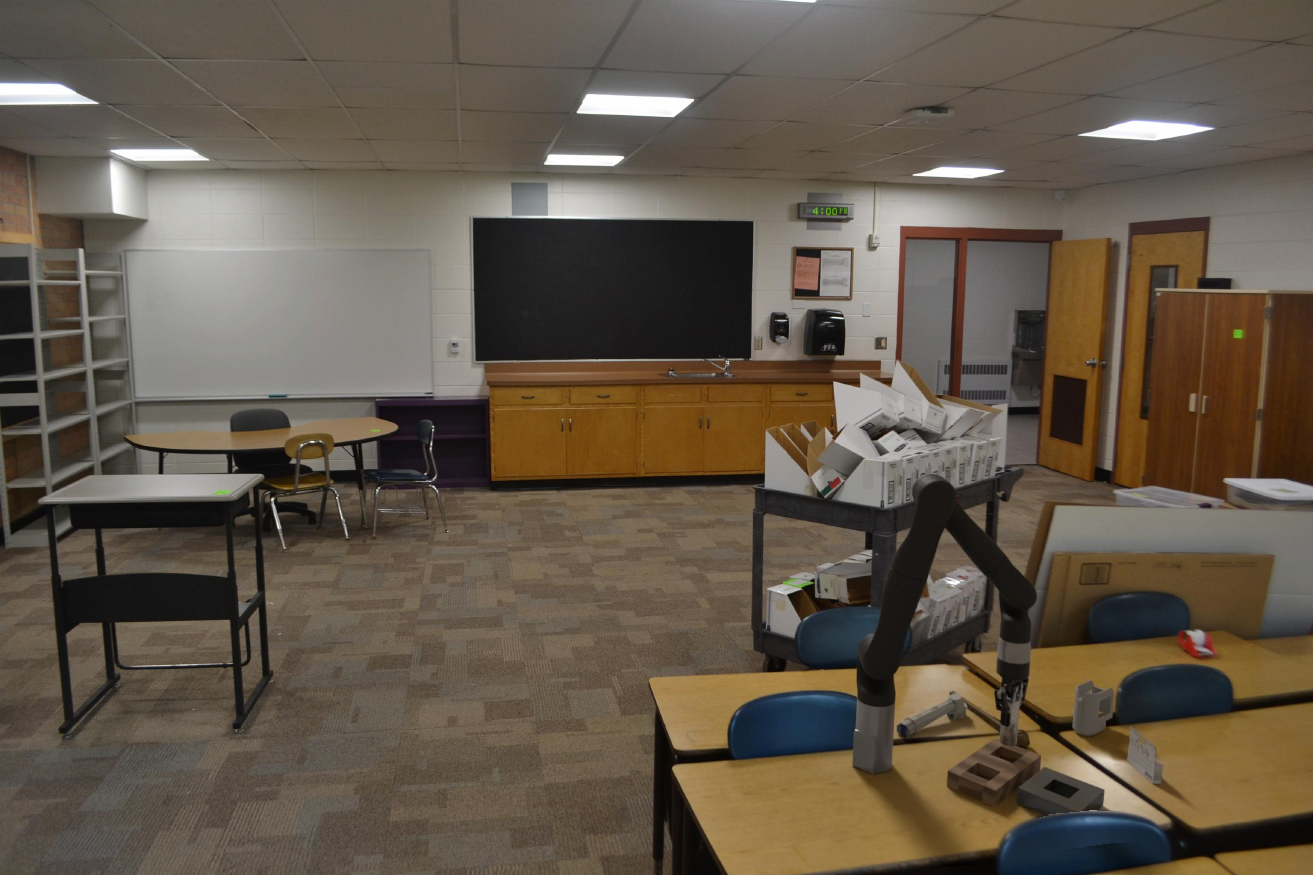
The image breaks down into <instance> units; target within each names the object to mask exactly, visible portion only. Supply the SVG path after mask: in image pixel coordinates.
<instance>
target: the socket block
mask: <svg viewBox="0 0 1313 875" xmlns="http://www.w3.org/2000/svg"><path fill="white" fill-rule="evenodd" d="M1016 797H1017V799H1016V804H1017V805H1019V806H1021V807H1023V808H1026V809H1028V810H1031V811H1033V812H1036V813H1038V814H1041V815H1043V816H1045V815H1049V814H1056V813H1069V812H1080V811H1089V810H1098V811H1099V810H1100V809H1102V807H1104V803H1105V802H1104V801H1105V789H1104V788H1102V787H1098V786H1097V785H1094V784H1091V783H1088V782H1086V781H1083V780H1080V779H1077V778H1075V777H1073V776H1070V775H1067V774H1064V773H1062V772H1060V771H1057V770H1055V769H1051V768H1048V767H1046V766H1044V767H1042V768H1040V771H1039V772H1037V773H1036V774H1035V775H1034V776H1032V777H1031V778H1030V779H1029V780H1027V781H1026V782H1025V783H1024V784H1022V785H1021V786H1020V787H1018V788H1017V796H1016Z"/></svg>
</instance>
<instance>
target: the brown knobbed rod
mask: <svg viewBox="0 0 1313 875" xmlns="http://www.w3.org/2000/svg"><path fill="white" fill-rule="evenodd" d="M955 693H956V694H958V692H955V690H950V691H949V696H950V695H952V694H955ZM963 700H964V703H966V705H967V708H968V709H970V710H972V711H973V712H975V713H976V714H978V715H979V716H981V717H982V718H984V719H985V720H987V721H988V722H990V723H991V724H993V725H994V726H995V727H997V728H998V729H1000V726H1001V724H1000V719H999V718H997V717H995V716H992V715H991V714H989V713H987V712H986V711H984V710H983V709H981V708H980V707H978V706H977V705H975V704H974V703H973V702H971V701H970V700H968V699H966V698H965V697H963ZM1030 745H1031V741H1030V737H1029V734H1028V732H1026V730H1024V729H1019V728H1018V734H1017V745H1015V746H1017V747H1021V748H1026V747H1029V746H1030Z"/></svg>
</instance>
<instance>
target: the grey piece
mask: <svg viewBox="0 0 1313 875" xmlns="http://www.w3.org/2000/svg"><path fill="white" fill-rule="evenodd" d="M956 693H957V692H956ZM956 693H955V694H952V695H950V694H949V697H948V699H947V700H945V701H943V702H941V703H939V704H936V705H934V706H932V707H930V708H928V709H926V710H924V711H922V712H919V713H918V714H915V715H913V716H911V717H906V718H904V720H903V721H902V722H900V723H898V724H897V725H896V732H897V733H898V736H901V737H903V738H904V739H906V738H908V737H910V736H912V735H916V734H917V733H919V731H920V730H922V729H923V728H925V727H927V726H928V725H931V724H932V723H934V722H935V721H937V720H939V719H940V718H942V717H943V716H945V715H946V716H947V717H948V718H949V719H951V720H963V719H964V718H965V717H966V715H967V710H968V707H967V705H966V703H964V700H963V698H964V697H963V695H962V694H961V693H957V694H956Z"/></svg>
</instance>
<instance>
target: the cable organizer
mask: <svg viewBox="0 0 1313 875" xmlns="http://www.w3.org/2000/svg"><path fill="white" fill-rule="evenodd" d="M1114 700H1115V692H1114V688H1113V687H1112V686H1111V687H1108V688H1106V689H1104V688H1101V687H1098V686H1095V685H1094V682H1093V680H1092V679H1090V680H1087V681H1084V682H1083V683H1080V684H1078V685H1076V687H1075V692H1074V704H1073V714H1072V715H1073V716H1072V717H1073V718H1072V725H1071V726H1072V729H1073V730H1074V731H1075V732H1076V733H1077V734H1079V735H1081V736H1086V737H1091V736H1092V737H1093V736H1095V735H1097V734H1099V733H1101V732H1103V731H1104V730H1105V729H1106V726H1107V725H1106V724H1107V721H1108V720H1110V719H1112V718H1113V713H1114ZM1099 713H1101V714H1104V715H1102V716H1100V715H1099Z"/></svg>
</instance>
